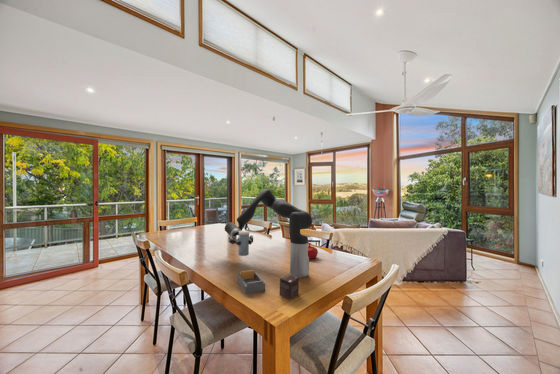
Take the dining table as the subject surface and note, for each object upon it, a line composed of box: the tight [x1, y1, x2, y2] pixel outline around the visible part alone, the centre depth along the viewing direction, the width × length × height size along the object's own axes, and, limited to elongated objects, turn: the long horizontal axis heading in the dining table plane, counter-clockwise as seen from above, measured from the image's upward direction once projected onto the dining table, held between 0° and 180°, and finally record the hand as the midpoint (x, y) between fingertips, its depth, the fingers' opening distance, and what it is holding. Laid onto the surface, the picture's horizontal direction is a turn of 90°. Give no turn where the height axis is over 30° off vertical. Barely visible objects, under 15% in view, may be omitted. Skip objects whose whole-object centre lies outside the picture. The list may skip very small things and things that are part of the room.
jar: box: [237, 230, 250, 257], centre depth 119 cm, size 6×6×12 cm
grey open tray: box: [237, 270, 266, 295], centre depth 106 cm, size 9×16×4 cm, turn 23°
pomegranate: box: [308, 243, 319, 260], centre depth 147 cm, size 10×10×9 cm
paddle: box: [240, 269, 255, 280], centre depth 111 cm, size 7×1×4 cm, turn 113°
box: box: [279, 273, 300, 300], centre depth 97 cm, size 6×6×7 cm
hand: (244, 243), depth 116 cm, fingers closed on jar, 5 cm apart
